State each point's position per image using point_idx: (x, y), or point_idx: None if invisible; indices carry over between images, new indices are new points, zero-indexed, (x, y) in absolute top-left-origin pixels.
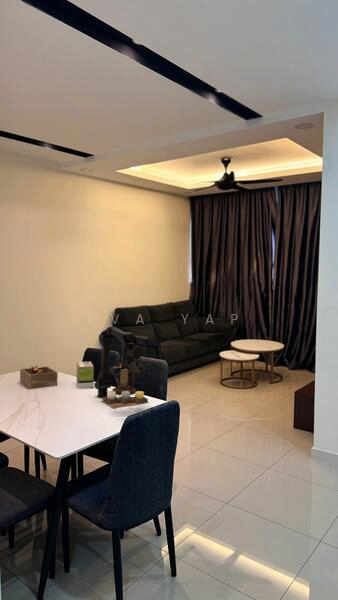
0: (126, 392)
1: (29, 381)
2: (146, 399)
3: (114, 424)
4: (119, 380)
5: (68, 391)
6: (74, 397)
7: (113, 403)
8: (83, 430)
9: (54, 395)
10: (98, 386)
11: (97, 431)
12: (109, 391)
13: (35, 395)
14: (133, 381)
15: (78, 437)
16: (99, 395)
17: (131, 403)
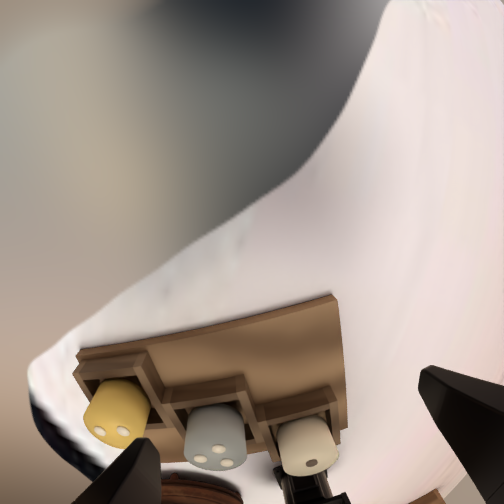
0: (212, 448)
1: (443, 500)
2: (81, 371)
3: (382, 60)
4: (494, 398)
5: (373, 500)
6: (391, 466)
7: (297, 395)
8: (485, 77)
9: (424, 468)
10: (349, 502)
11: (448, 36)
12: (316, 470)
13: (456, 458)
14: (151, 472)
15: (488, 37)
16: (324, 475)
17: (183, 376)
